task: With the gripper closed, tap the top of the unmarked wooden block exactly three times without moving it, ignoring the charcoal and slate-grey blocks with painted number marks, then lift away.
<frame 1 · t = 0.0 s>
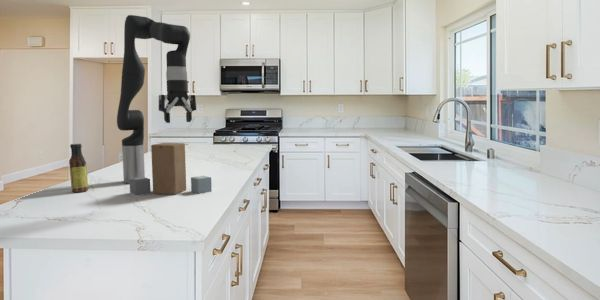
hand: (178, 122, 162), 29 cm above the countertop, fingers open, 8 cm apart
slate marked block: (201, 191, 177), on the countertop
sauce bottle: (79, 191, 178), on the countertop
charcoal marked block: (140, 193, 174), on the countertop
wooden block: (170, 192, 176), on the countertop
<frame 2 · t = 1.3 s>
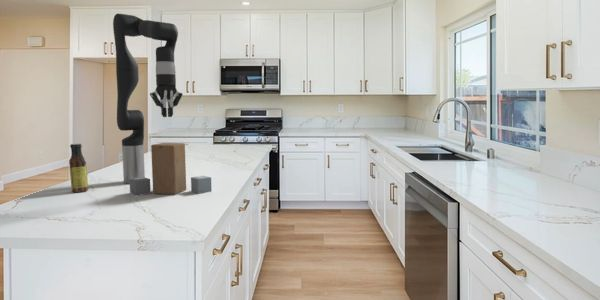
hand: (167, 116, 173), 31 cm above the countertop, fingers closed
nothing on the countertop moved.
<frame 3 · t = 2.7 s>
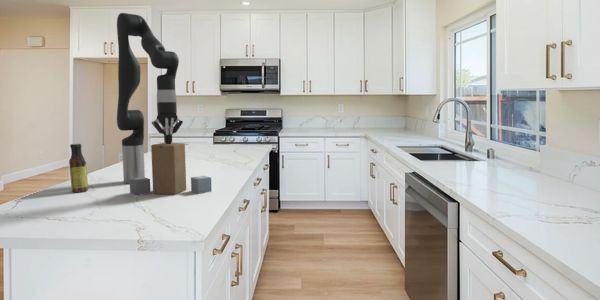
hand: (168, 143, 174), 20 cm above the countertop, fingers closed
wooden block: (170, 192, 176), on the countertop, touching gripper
everything else where it was.
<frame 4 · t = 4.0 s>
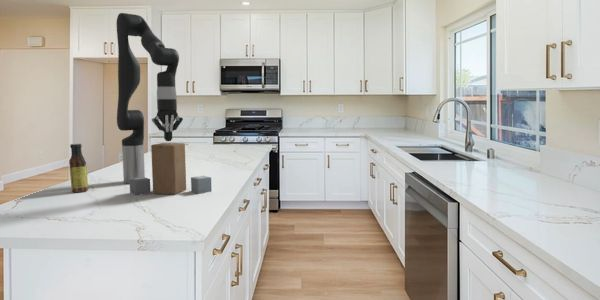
hand: (168, 140, 174), 21 cm above the countertop, fingers closed
wooden block: (170, 192, 176), on the countertop
everything else where it was.
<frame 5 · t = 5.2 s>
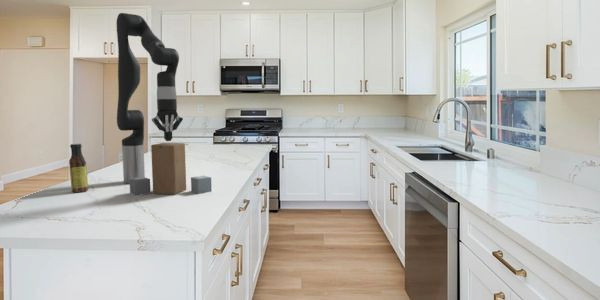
hand: (168, 140, 174), 21 cm above the countertop, fingers closed
nothing on the countertop moved.
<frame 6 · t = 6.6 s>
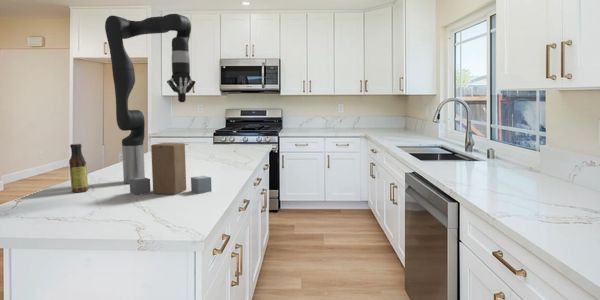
hand: (181, 102, 187), 37 cm above the countertop, fingers closed
nothing on the countertop moved.
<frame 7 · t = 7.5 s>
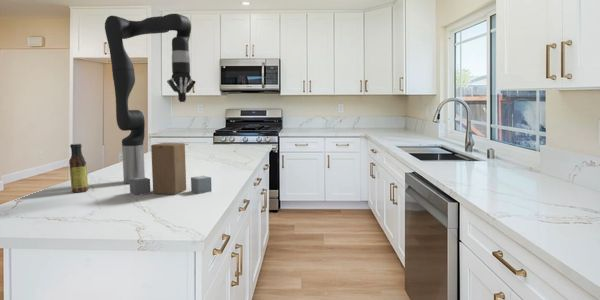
hand: (182, 101, 188), 37 cm above the countertop, fingers closed
nothing on the countertop moved.
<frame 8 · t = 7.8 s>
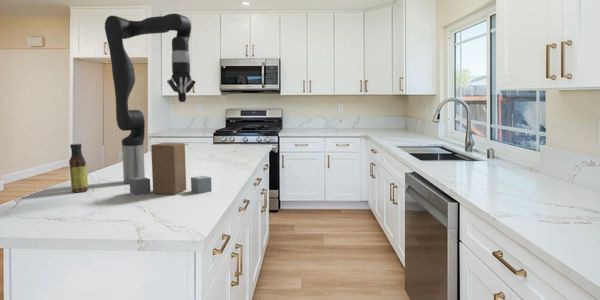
hand: (182, 101, 188), 37 cm above the countertop, fingers closed
nothing on the countertop moved.
at the end: wooden block moved 0.2 cm from its start; wooden block tilted 0°; charcoal marked block moved 0.1 cm from its start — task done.
